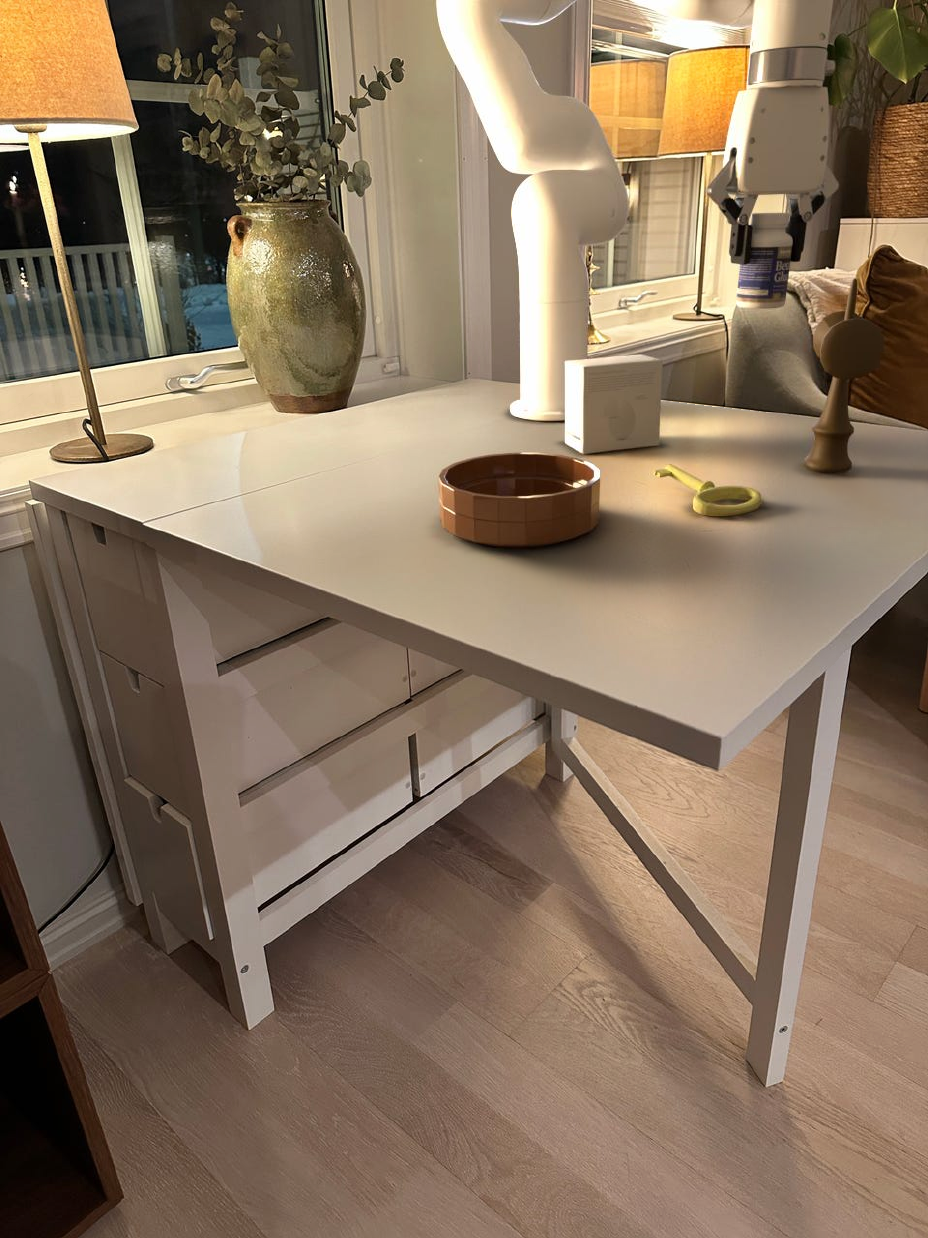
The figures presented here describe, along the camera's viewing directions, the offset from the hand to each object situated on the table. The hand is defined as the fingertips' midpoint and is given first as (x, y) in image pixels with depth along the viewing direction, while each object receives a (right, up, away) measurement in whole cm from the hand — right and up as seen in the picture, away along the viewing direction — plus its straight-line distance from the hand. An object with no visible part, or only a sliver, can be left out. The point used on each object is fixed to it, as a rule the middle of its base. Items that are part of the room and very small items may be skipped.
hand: (765, 260), depth 99 cm
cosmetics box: (-15, -18, +13) cm, 27 cm away
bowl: (-28, -31, -13) cm, 44 cm away
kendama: (+7, -24, -1) cm, 25 cm away
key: (-9, -28, -8) cm, 31 cm away
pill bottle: (0, -5, +2) cm, 5 cm away
